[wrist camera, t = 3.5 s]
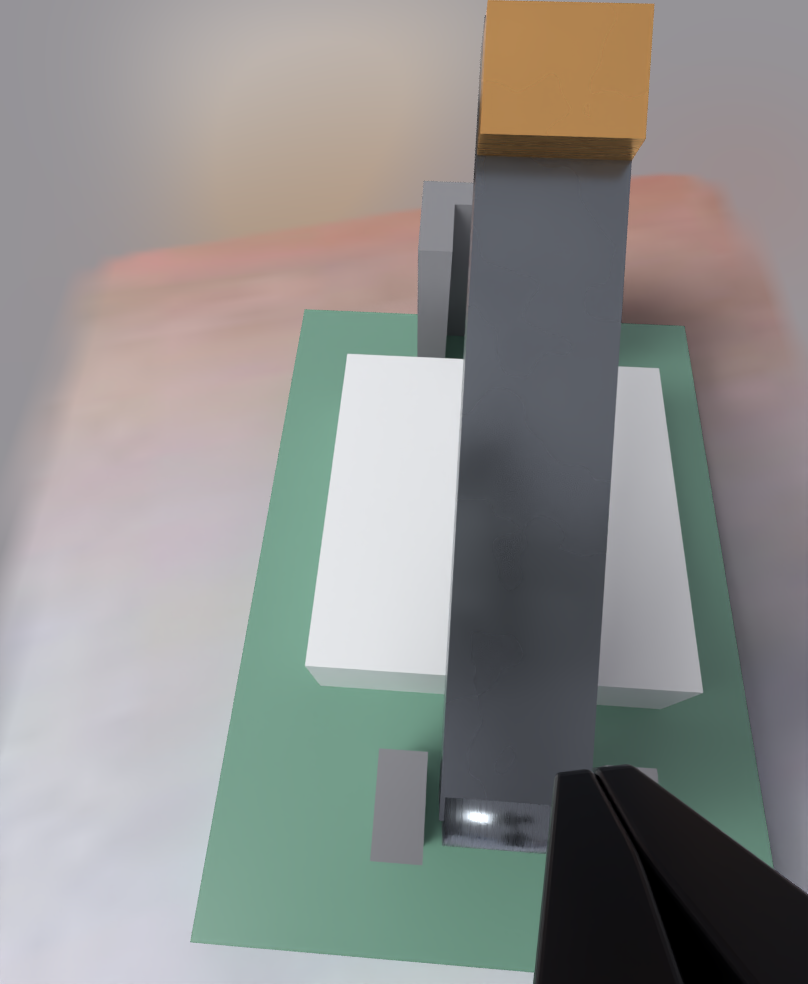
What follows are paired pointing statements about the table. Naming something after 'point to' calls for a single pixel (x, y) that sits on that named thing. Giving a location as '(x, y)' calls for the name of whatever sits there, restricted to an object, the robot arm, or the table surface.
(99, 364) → the table surface
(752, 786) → the board
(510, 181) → the strap
